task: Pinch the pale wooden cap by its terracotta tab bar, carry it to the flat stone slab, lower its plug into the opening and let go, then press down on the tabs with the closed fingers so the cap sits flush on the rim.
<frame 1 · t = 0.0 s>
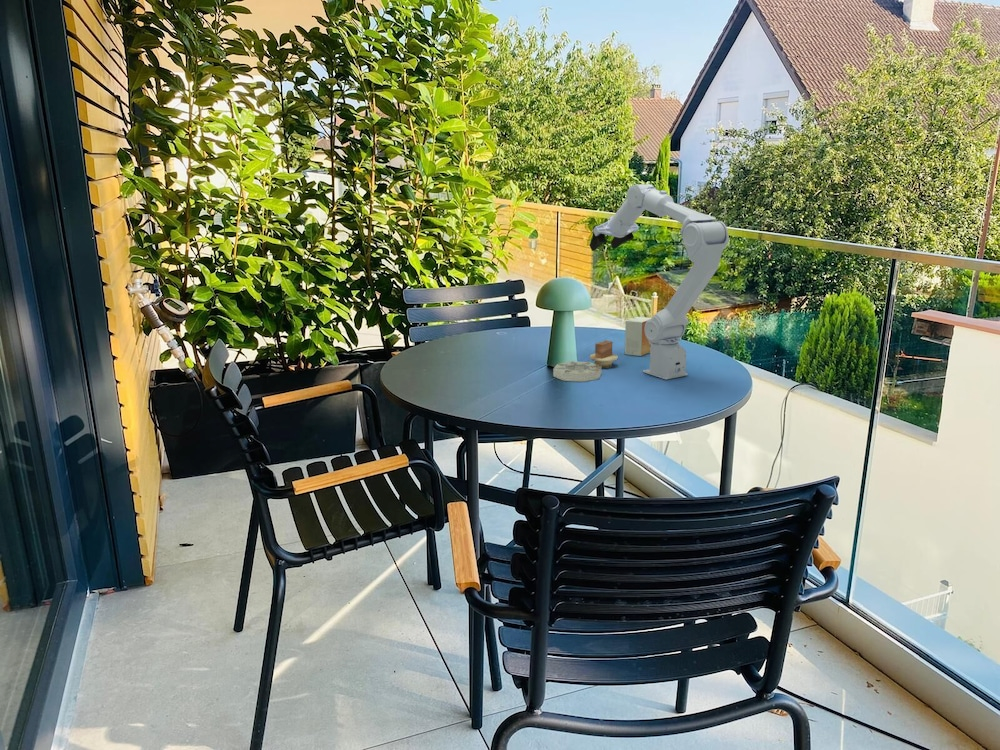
hand: (602, 247, 207), 32 cm above the table, tool tilted 50°, fingers open, 7 cm apart
small box: (638, 353, 215), on the table
flat stone slab: (577, 375, 193), on the table
cap: (603, 365, 202), on the table
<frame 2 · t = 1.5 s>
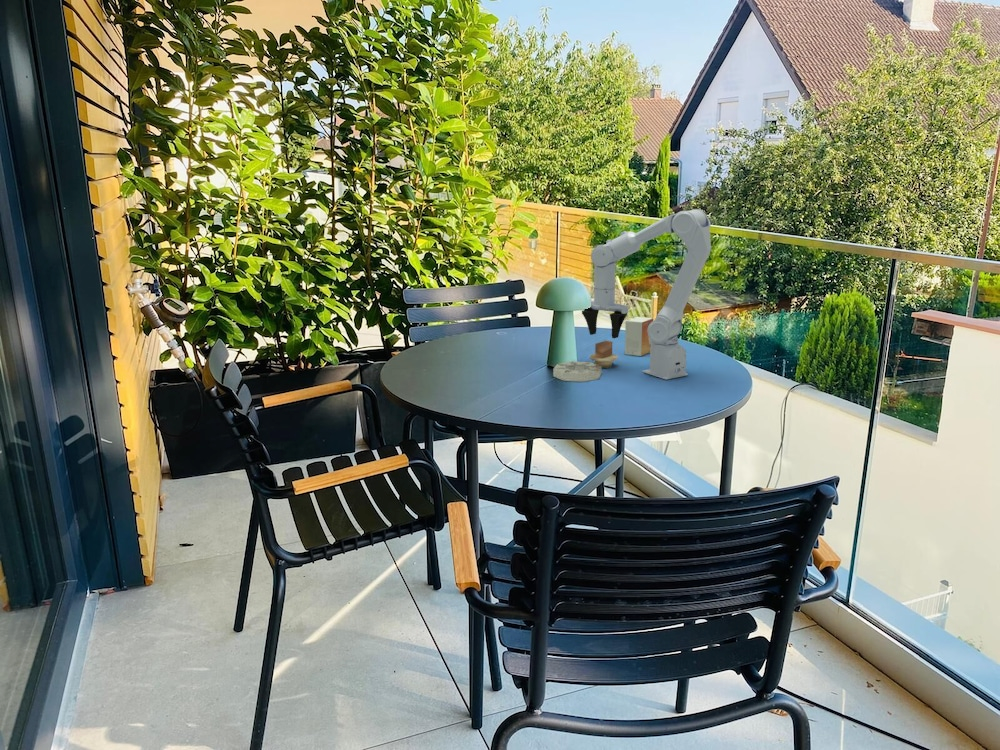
hand: (603, 335, 199), 9 cm above the table, tool pointing down, fingers open, 7 cm apart
nothing on the table moved.
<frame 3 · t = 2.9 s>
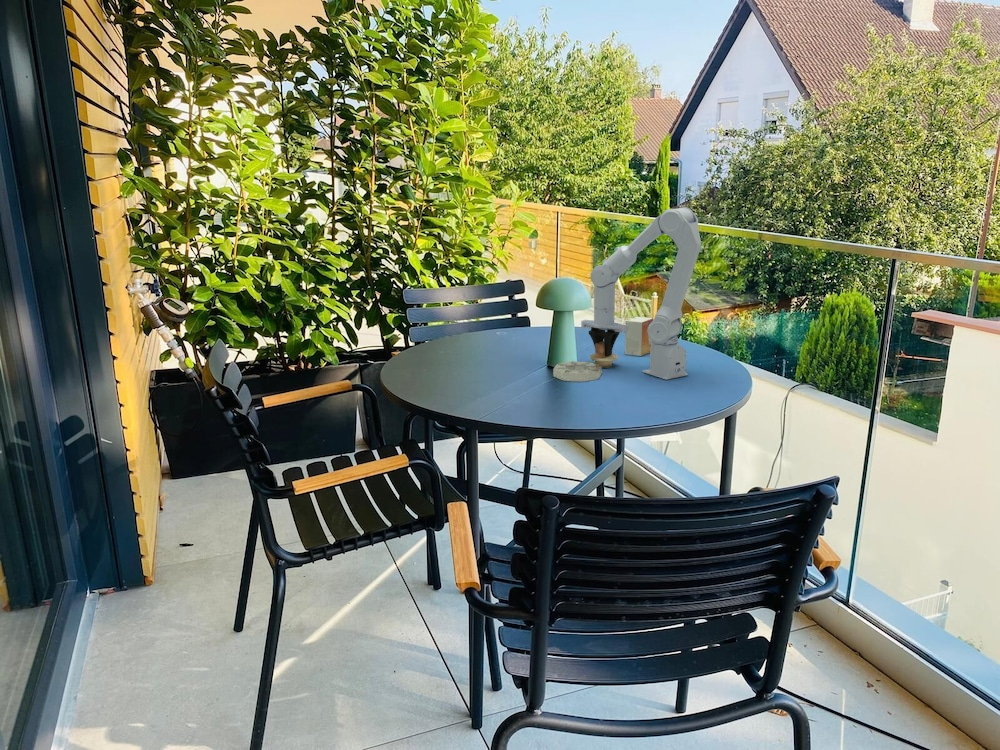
hand: (603, 354, 201), 3 cm above the table, tool pointing down, fingers closed on cap, 2 cm apart
cap: (603, 365, 202), on the table, touching gripper
everything else where it was.
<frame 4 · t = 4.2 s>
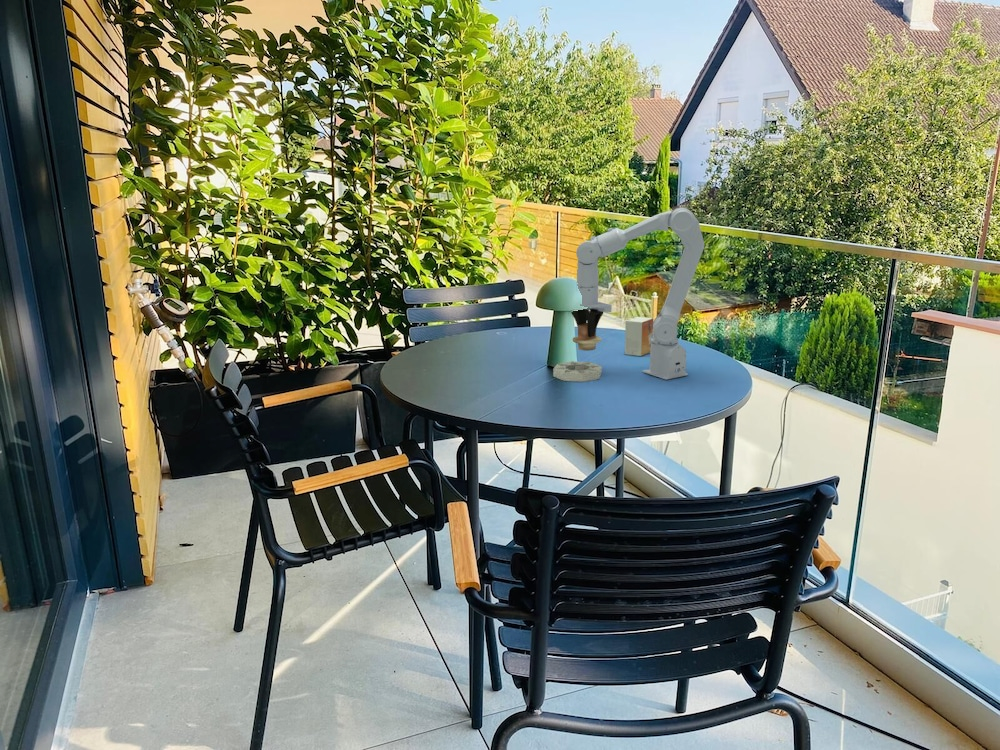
hand: (587, 335, 193), 10 cm above the table, tool pointing down, fingers closed on cap, 2 cm apart
cap: (586, 348, 194), point 7 cm above the table, touching gripper
everything else where it was.
when the fingers open (4 cm above the table, at t = 5.9 s): cap stays where it is, resting on flat stone slab.
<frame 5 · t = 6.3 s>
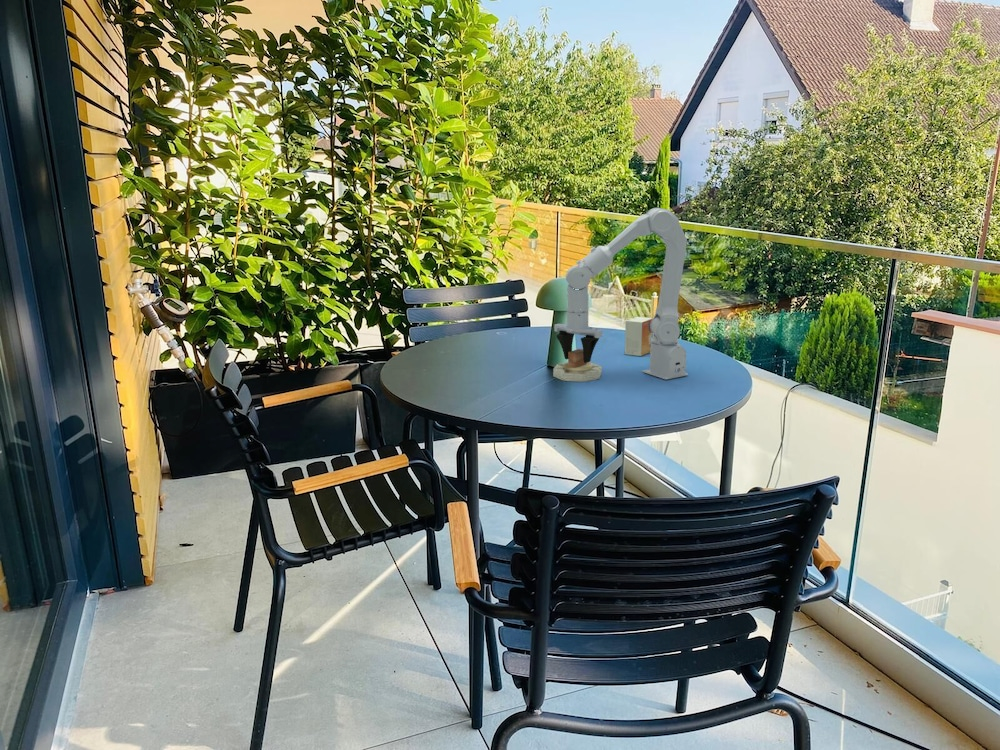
hand: (577, 360, 192), 4 cm above the table, tool pointing down, fingers open, 6 cm apart
cap: (577, 375, 193), resting on flat stone slab
everything else where it was.
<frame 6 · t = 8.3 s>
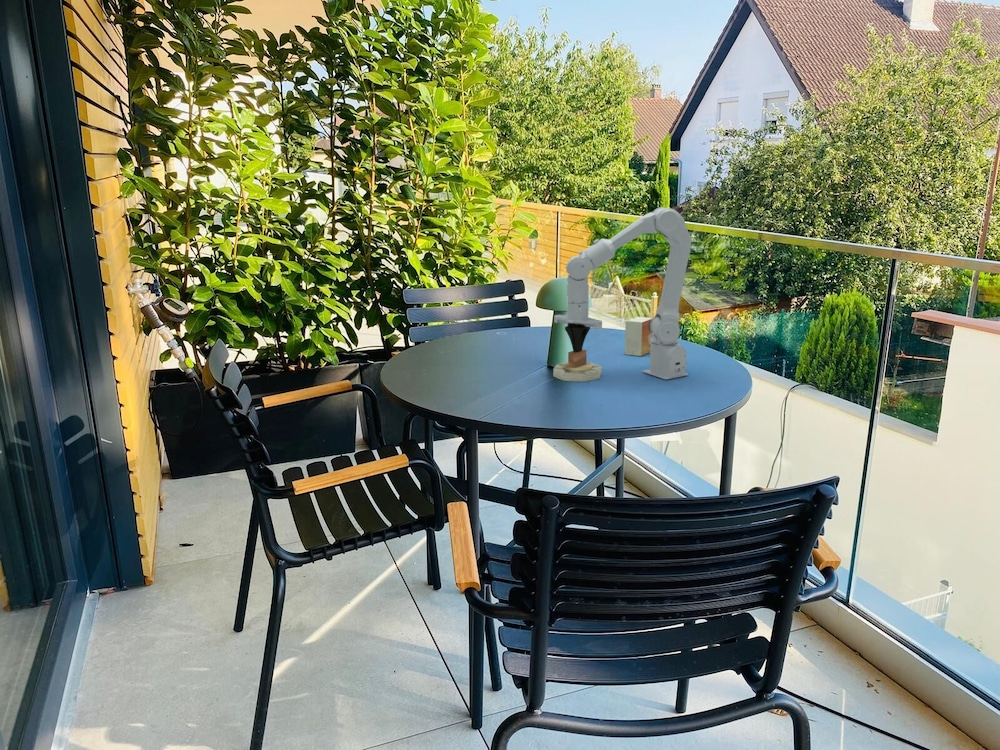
hand: (577, 351, 191), 7 cm above the table, tool pointing down, fingers closed, pressing on cap
cap: (577, 375, 193), resting on flat stone slab, touching gripper
everything else where it was.
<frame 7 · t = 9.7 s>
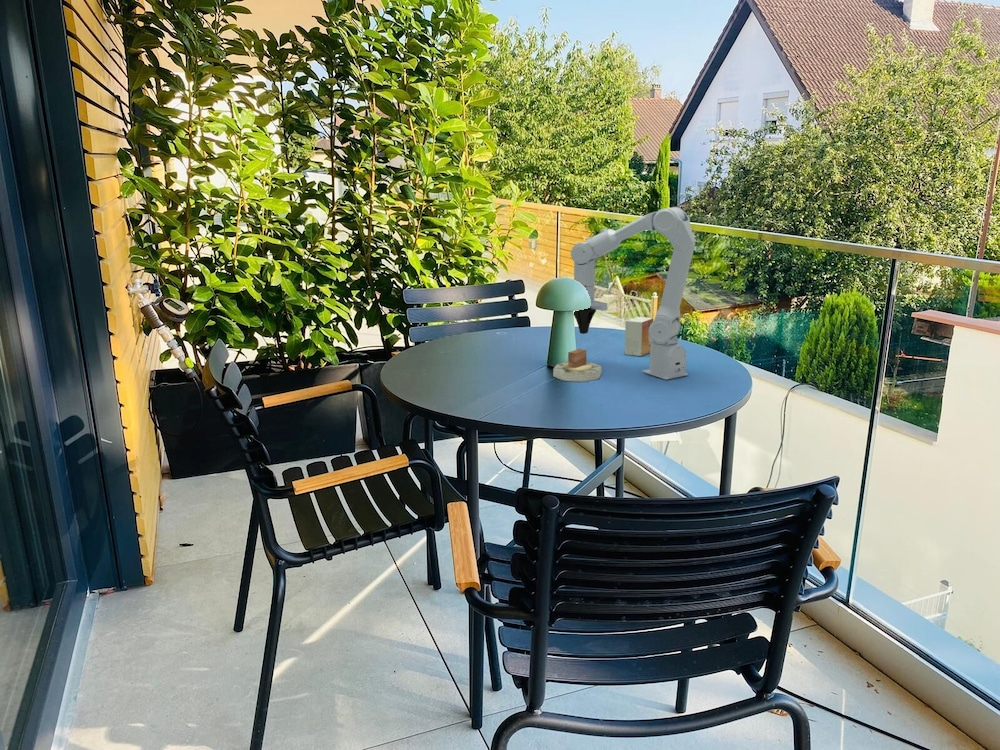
hand: (583, 333, 200), 9 cm above the table, tool pointing down, fingers closed
cap: (577, 375, 193), resting on flat stone slab
everything else where it was.
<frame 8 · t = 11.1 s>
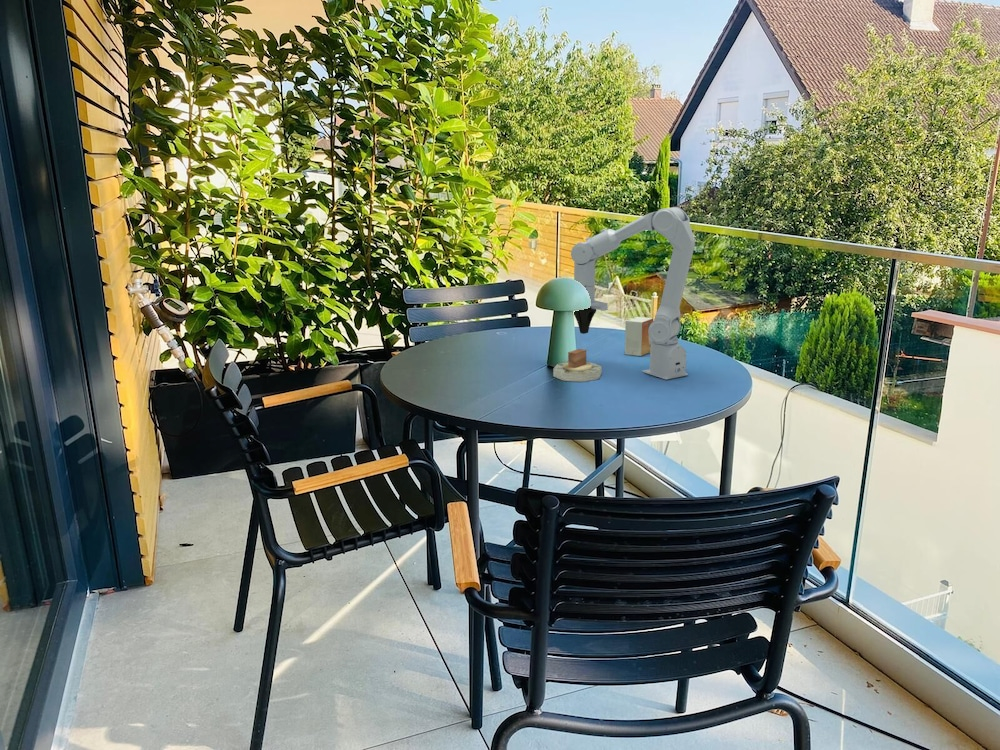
hand: (584, 332, 201), 9 cm above the table, tool pointing down, fingers closed
nothing on the table moved.
at the end: cap 0.1 cm from the flat stone slab (horizontally); cap on the table; cap tilted 0° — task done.
